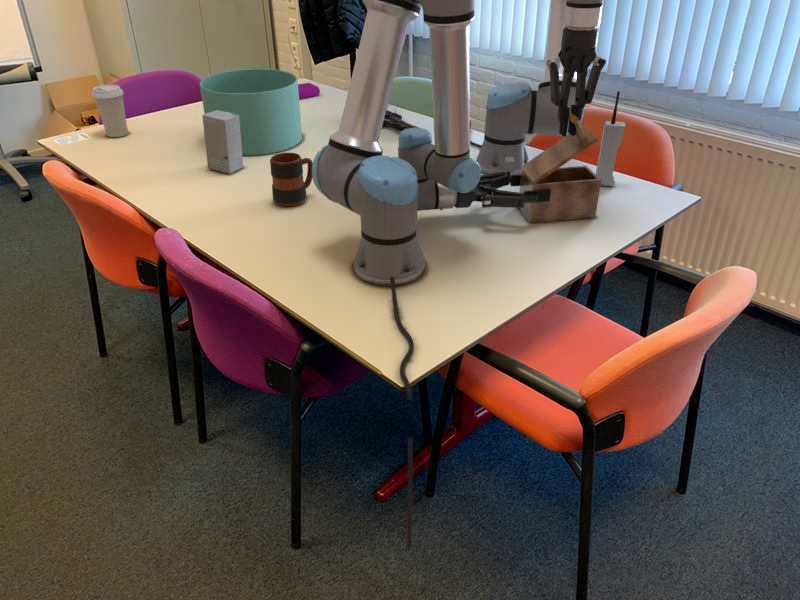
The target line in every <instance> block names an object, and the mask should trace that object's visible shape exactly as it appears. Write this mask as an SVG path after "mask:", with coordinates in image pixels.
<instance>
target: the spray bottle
mask: <svg viewBox="0 0 800 600" xmlns="http://www.w3.org/2000/svg"><path fill="white" fill-rule="evenodd" d="M298 92H299V100H301V99H302V100H303V99H306V98H311V97H316V96H319V95H320V93H321V89H320V87H319V86H317V85H316V84H313V83H311V82H304V83H298Z"/></svg>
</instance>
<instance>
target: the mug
mask: <svg viewBox="0 0 800 600" xmlns="http://www.w3.org/2000/svg"><path fill="white" fill-rule="evenodd" d="M306 164H307V172H306V178H305V181H304V175H303V174H304V168H303V165H306ZM269 165H270V175H271V179H272V184H271V192H272V194H271V195H272V200H273V201H274V202H275V204H277V205H278V206H281V207H294V206H299V205H301V204H303V203H304V202H305V200H306V199H307V189H308V188H309V187H310V185H311V183H312V181H313V178H312V165H313V160H312V159H311V158H309V157H304V158H302V157H301V155H300V154H298V153H295V152H281V153H280V152H279V153H276V154H274V155H272V156H271V157H270V160H269Z"/></svg>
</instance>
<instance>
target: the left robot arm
mask: <svg viewBox="0 0 800 600" xmlns="http://www.w3.org/2000/svg"><path fill="white" fill-rule="evenodd" d="M362 2H363V4H364V6H365V9H366V11H367V12H366V16H365V20H364V24H363V29H362V33H361V37H360V41H359V45H358V49H357V54H356V57H355V62H354V66H353V70H352V75H351V78H350V82H349V83H350V84H349V87H348V90H347V95H346V99H345V104H344V107H343V112H342V115H341V120H340V125H339V127H338V128H339V129H337V131H336V132H334V133H332V134H331V135H330V136H329V139H328V144H326V145H324V146H323V147H321V150H319V151H317V152H316V154H315V155H314V158H313V160H312V162H313V165H312V181H313V184H314V186H315V188H316V189H317V190H318V192H319V193H320V194H321V195H323V196H324V197H325V198H326V199H328V200H329V201H331V202H333V203H336V204H338V205H340V206H342V207H344V208H345V209H347V210H349V211H350V212H352V213H355V214H357V215H358V216H359V218H360V239H359V242H358V247H357V249H356V252H355V256H354V259H353V270H354V273H355V275H356V276H357V277H358V278H359V279H360V280H362V281H364V282H366V283H369V284H370V285H371V284H372V285H376V286H382V287H390V288H391V296H392V305H393V311H394V318H395V322H396V324H397V327H398V328H399V330H400V331H401V333H402V335H404V337H405V338H406V339H407V341H408V350H407V352H406V354H405V355H404V357H403V359H402V360H401V363H400V366H399V375H400V378H401V379H402V382H403V384H404V387H405V392H406V393H405V394H406V399H407V400H408V401H412V400H413V393H412V388H411V384H410V381H409V378H408V377H407V375H406V370H405V369H406V365H407V363H408V361H409V360H410V358H411V356H412V355H413V353H414V350H415V349H414V348H415V345H414V339H413V338H412V336H411V335H410V333H409V332H408V330H407V329H406V328H405V327H404V325H403V323H402V320H401V317H400V312H399V306H398V300H397V299H398V298H397V290H396V289H397V288H396V286H402V285H406V284H410V283H413V282H415V281H417V280H418V279H420V278H421V276H423V274H424V273H425V270H426V261H425V255H424V252H423V250H422V247H421V244H420V241H419V238H418V212H420V211H430V210H431V211H432V210H433V211H434V210H439V211H443V210H446V209H447V210H448V209H453V208H455V209H467V208H470V207H472V204H473V203H474V202H477V203H481V207H482V208H512V209H513V208H514V209H517V208H518V209H519V208H523V207H524V203H530V202H545V201H550V195H551V190H535V191H524V193H519V192H517V191H510V190H503V189H500V188H505V187H507V186H509V185H510V187H520V181H521V175H511V172H509V171H507V173H506V172H498V173H492V174H482V172H481V167H480V166H479V163H478V162H477V161H476V159H474V158H471V144H470V141H471V134H470V133H471V130H470V120H471V113H470V111H471V109H470V108H471V106H470V102H471V101H470V96H471V95H470V24H471V23H473V21H474V19H475V0H362ZM421 10H422V14H423V15H422V17H423V23H424V24H425V25H426V26H427V27H428V29H429V48H430V49H429V51H430V70H431V71H430V72H431V93H432V94H431V95H432V110H433V111H432V113H433V114H432V116H433V134H434V143H432V142H433V139H432V134H431V132H430V131H429V130H428V129H426V128H422V127H419V128H409V129H405V130H403V131H402V132H401V131H400V132H399V135H398V145H397V151H398V152H397V156H398V157H397V156H392V157H390V156H389V155H383V153H384V149H383V148H382V146H381V144H380V142H379V141H380V135H381V132H382V128H383V121H384V117H385V113H386V109H387V106H388V104H389V102H390V98H391V95H392V90H393V86H394V82H395V79H396V74H397V72H398V71H397V70H398V66H399V63H400V59H401V56H402V51H403V49H404V48H403V47H404V45H405V41H406V36H407V33H408V28H409V24H410V23H411V22H413V21H415V20H416V19H417V18H419V16H420V13H421ZM510 175H511V176H510ZM413 440H414V439H413V436H412V437H407V507H406V508H407V511H406V513H407V515H406V518H407V520H406V523H407V524H406V549H407V550H411V549H412V537H413V536H412V533H413V531H412V529H413V528H412V527H413V526H412V525H413V477H414V476H413V471H414V470H413V466H414V465H413V463H414V461H413V460H414V457H413V456H414V454H413V453H414V452H413V449H414V447H413V445H414V444H413V443H414V442H413Z"/></svg>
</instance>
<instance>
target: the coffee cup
mask: <svg viewBox="0 0 800 600" xmlns="http://www.w3.org/2000/svg"><path fill="white" fill-rule="evenodd" d="M91 97H92V98H93V100H94V102H95V105H96V108H97V111H98V113H99V117H100V119H101V122H102V125H103V128H104V131H105V134H106V136H107V137H109V138H122V137H124V136H127V135H128V134H129V131H128V123H127V117H126V109H125V103H124V91H123V89H122V88H121V86H120V85H118V84H101V85H97V86H95V87H93V88H92V92H91Z"/></svg>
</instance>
